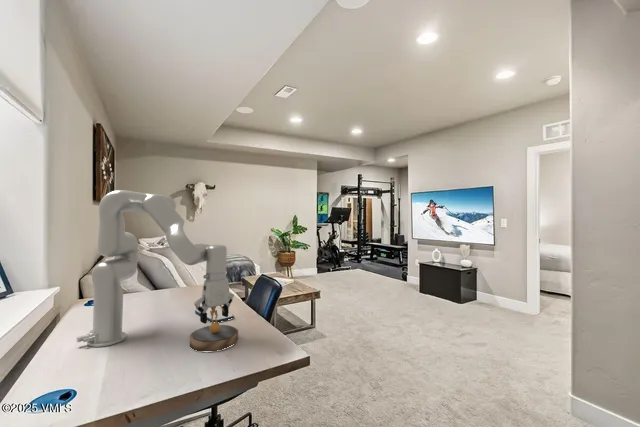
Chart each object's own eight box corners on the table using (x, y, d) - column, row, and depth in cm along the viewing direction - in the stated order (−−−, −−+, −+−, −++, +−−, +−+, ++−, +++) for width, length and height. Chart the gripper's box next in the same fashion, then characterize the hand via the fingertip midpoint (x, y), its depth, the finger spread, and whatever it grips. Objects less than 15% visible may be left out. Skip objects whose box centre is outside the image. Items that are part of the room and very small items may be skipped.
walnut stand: (207, 357, 104) (207, 345, 104) (180, 343, 115) (180, 333, 115) (247, 340, 119) (247, 330, 119) (220, 330, 129) (220, 320, 129)
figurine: (205, 336, 112) (206, 305, 112) (200, 332, 117) (201, 301, 117) (226, 332, 117) (227, 301, 117) (221, 327, 122) (222, 298, 122)
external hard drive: (192, 313, 153) (193, 309, 153) (214, 308, 161) (214, 304, 161) (213, 325, 136) (213, 321, 136) (236, 319, 144) (236, 315, 144)
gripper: (201, 280, 108) (200, 327, 108) (239, 274, 122) (238, 315, 122) (190, 278, 112) (188, 323, 112) (228, 272, 126) (227, 312, 126)
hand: (214, 319), depth 117 cm, fingers open, 9 cm apart
